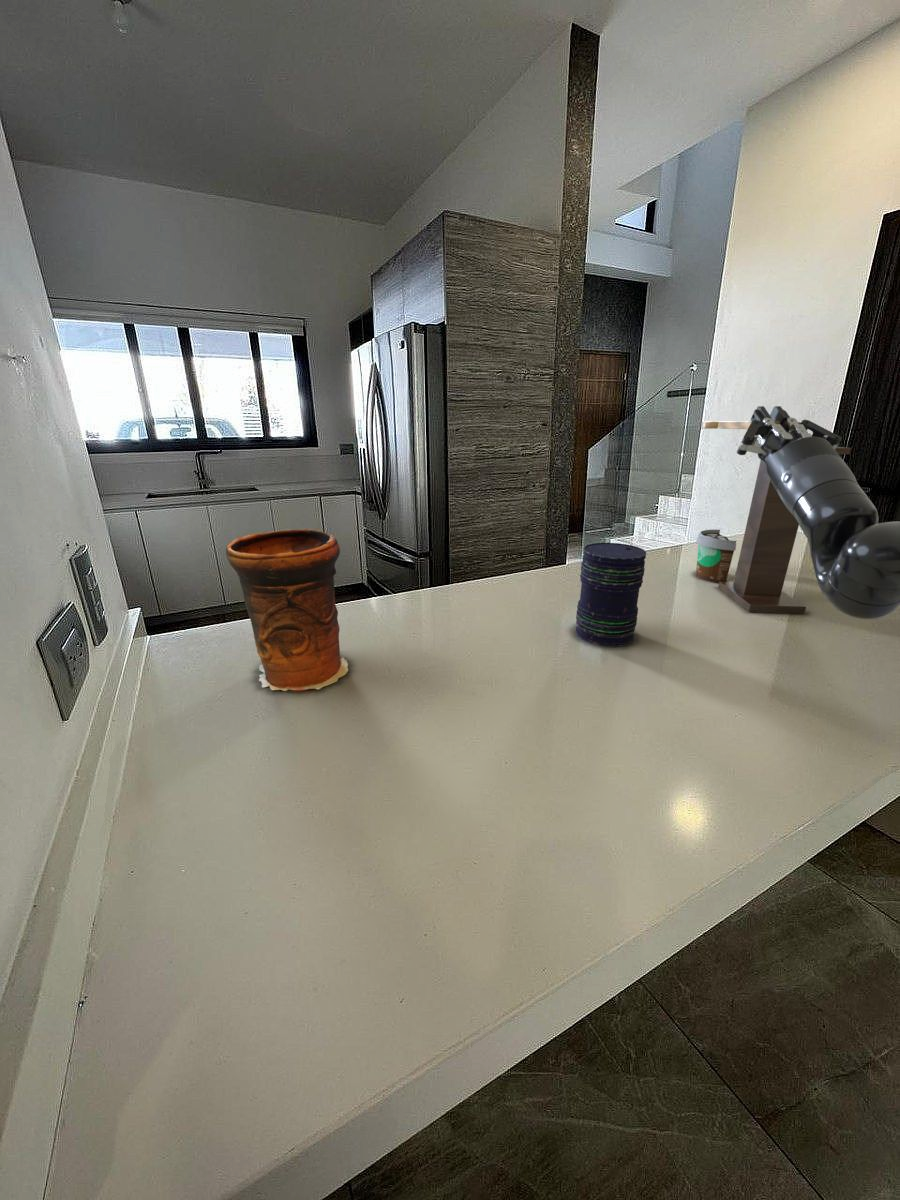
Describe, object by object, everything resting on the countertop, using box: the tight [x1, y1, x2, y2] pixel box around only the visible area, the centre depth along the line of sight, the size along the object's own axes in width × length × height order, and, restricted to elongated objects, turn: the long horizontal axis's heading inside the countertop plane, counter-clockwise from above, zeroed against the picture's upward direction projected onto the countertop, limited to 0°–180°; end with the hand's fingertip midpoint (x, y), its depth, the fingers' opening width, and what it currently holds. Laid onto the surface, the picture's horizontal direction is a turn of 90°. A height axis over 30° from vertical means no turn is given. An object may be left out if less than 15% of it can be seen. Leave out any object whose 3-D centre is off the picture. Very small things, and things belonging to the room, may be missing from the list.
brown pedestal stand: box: [717, 446, 852, 615], centre depth 92 cm, size 14×10×30 cm
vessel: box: [225, 528, 349, 692], centre depth 67 cm, size 14×14×20 cm
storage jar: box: [574, 542, 647, 648], centre depth 80 cm, size 10×10×15 cm
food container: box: [695, 529, 737, 584], centre depth 110 cm, size 12×6×10 cm, turn 168°
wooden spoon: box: [700, 420, 780, 430], centre depth 82 cm, size 22×5×1 cm, turn 175°
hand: (766, 412), depth 73 cm, fingers closed on wooden spoon
